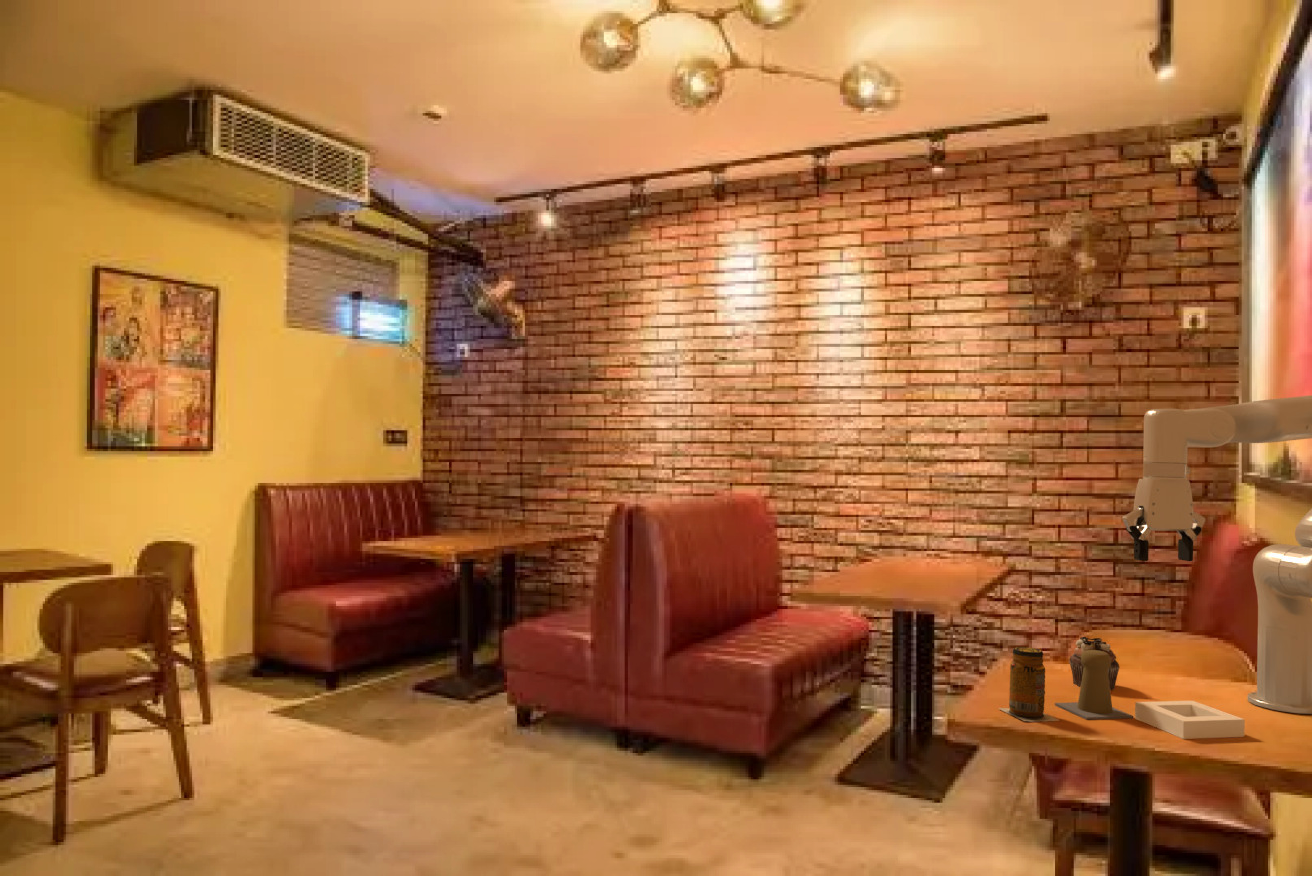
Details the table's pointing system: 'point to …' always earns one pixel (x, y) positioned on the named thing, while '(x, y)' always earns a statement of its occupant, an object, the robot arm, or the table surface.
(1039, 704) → the condiment
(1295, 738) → the table surface
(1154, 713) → the holder
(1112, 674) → the cupcake
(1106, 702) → the cork
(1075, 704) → the coaster
